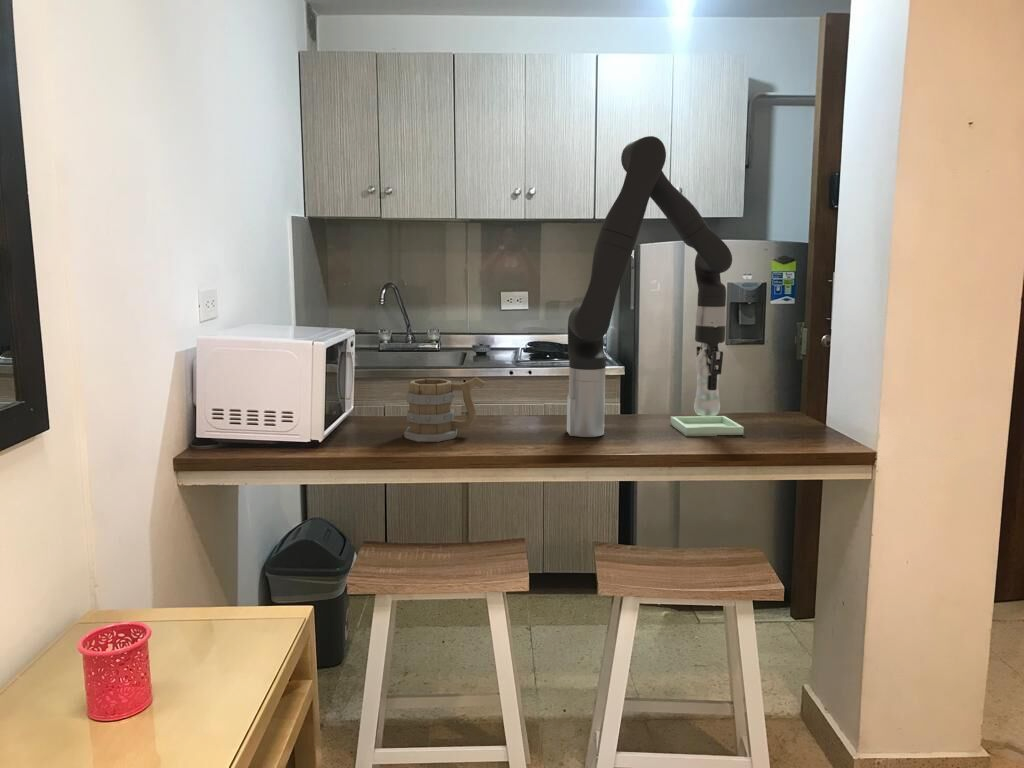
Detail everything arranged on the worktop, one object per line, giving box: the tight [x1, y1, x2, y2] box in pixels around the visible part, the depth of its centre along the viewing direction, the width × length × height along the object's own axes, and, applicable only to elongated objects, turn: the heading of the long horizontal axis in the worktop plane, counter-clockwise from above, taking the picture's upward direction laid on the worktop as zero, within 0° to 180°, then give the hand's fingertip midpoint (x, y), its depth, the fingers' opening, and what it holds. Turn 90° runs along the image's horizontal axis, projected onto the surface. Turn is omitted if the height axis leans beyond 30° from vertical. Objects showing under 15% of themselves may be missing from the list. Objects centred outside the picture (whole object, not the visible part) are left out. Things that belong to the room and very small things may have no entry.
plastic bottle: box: [693, 343, 721, 417], centre depth 193 cm, size 6×7×20 cm
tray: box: [670, 415, 745, 437], centre depth 194 cm, size 15×14×2 cm
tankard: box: [404, 376, 486, 443], centre depth 185 cm, size 20×13×15 cm, turn 89°
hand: (707, 387), depth 193 cm, fingers closed on plastic bottle, 6 cm apart
